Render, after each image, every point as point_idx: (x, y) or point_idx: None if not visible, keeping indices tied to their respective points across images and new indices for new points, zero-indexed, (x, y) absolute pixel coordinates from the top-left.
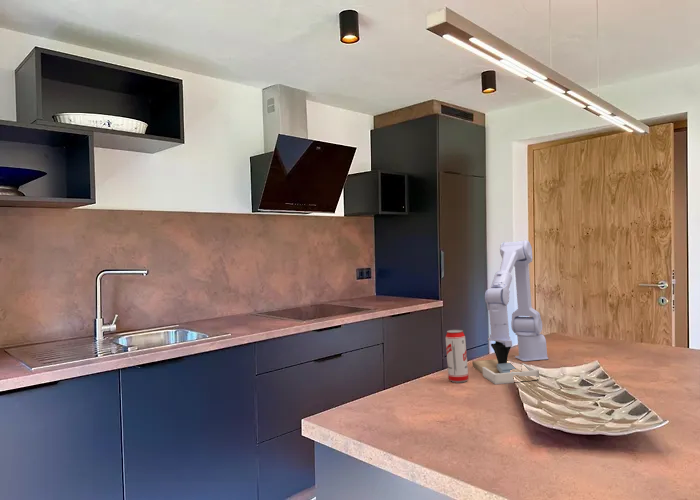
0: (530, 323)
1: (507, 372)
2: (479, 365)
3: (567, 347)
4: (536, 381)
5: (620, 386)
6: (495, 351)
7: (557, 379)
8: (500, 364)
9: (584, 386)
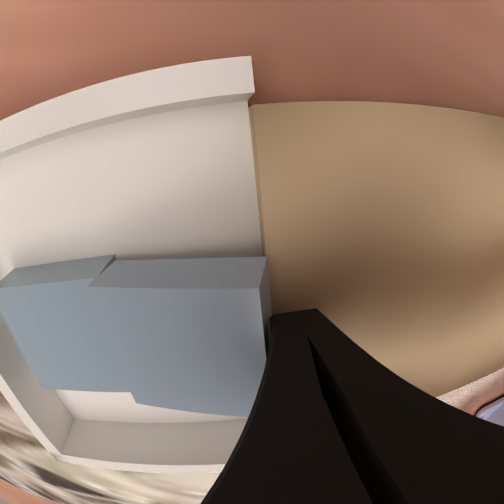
0: None
1: (53, 312)
2: (478, 120)
3: None
4: None
5: (50, 500)
6: (376, 439)
7: None
8: (231, 326)
9: (25, 465)
